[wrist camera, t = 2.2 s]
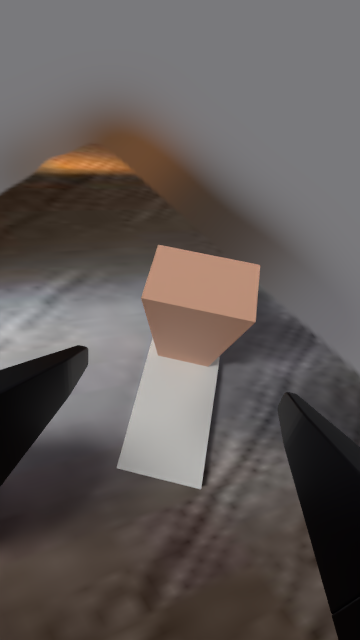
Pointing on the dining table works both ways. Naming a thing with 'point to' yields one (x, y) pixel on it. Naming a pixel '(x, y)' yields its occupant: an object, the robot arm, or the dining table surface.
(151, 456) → the white long block
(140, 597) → the dining table surface
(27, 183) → the dining table surface
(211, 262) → the stub
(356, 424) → the dining table surface
